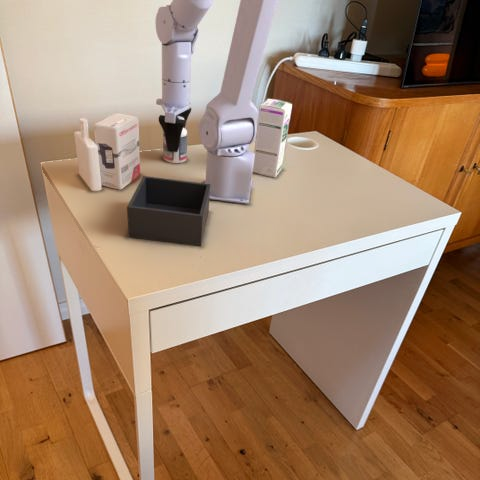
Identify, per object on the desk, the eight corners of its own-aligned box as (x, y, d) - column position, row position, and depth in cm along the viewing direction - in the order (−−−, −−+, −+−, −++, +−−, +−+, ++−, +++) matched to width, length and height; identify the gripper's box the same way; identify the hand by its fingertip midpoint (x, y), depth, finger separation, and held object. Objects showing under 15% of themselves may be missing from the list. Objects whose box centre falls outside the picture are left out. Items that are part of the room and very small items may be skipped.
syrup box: (275, 178, 101) (287, 109, 91) (250, 172, 102) (259, 103, 92) (282, 169, 105) (293, 102, 95) (258, 163, 106) (267, 97, 96)
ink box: (119, 169, 95) (115, 110, 88) (141, 174, 95) (139, 116, 87) (98, 185, 89) (92, 123, 81) (121, 190, 88) (117, 128, 81)
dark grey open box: (208, 212, 86) (210, 184, 82) (200, 246, 76) (202, 216, 73) (144, 204, 85) (143, 175, 82) (128, 237, 76) (126, 206, 72)
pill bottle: (185, 154, 105) (186, 114, 99) (188, 164, 101) (189, 122, 96) (162, 154, 104) (161, 113, 98) (164, 163, 100) (164, 122, 94)
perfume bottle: (102, 190, 88) (96, 126, 80) (92, 191, 87) (85, 127, 79) (88, 173, 92) (81, 111, 85) (79, 174, 91) (71, 112, 84)
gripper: (162, 68, 97) (163, 132, 106) (149, 85, 86) (150, 156, 95) (195, 72, 98) (193, 136, 106) (185, 90, 87) (184, 160, 95)
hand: (175, 146), depth 101 cm, fingers closed on pill bottle, 5 cm apart
